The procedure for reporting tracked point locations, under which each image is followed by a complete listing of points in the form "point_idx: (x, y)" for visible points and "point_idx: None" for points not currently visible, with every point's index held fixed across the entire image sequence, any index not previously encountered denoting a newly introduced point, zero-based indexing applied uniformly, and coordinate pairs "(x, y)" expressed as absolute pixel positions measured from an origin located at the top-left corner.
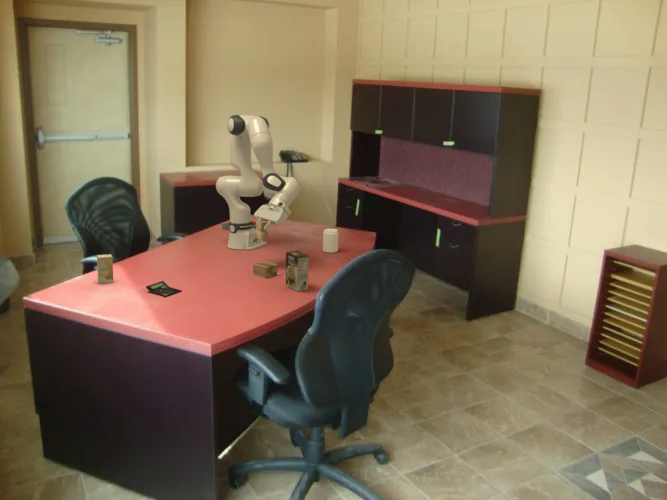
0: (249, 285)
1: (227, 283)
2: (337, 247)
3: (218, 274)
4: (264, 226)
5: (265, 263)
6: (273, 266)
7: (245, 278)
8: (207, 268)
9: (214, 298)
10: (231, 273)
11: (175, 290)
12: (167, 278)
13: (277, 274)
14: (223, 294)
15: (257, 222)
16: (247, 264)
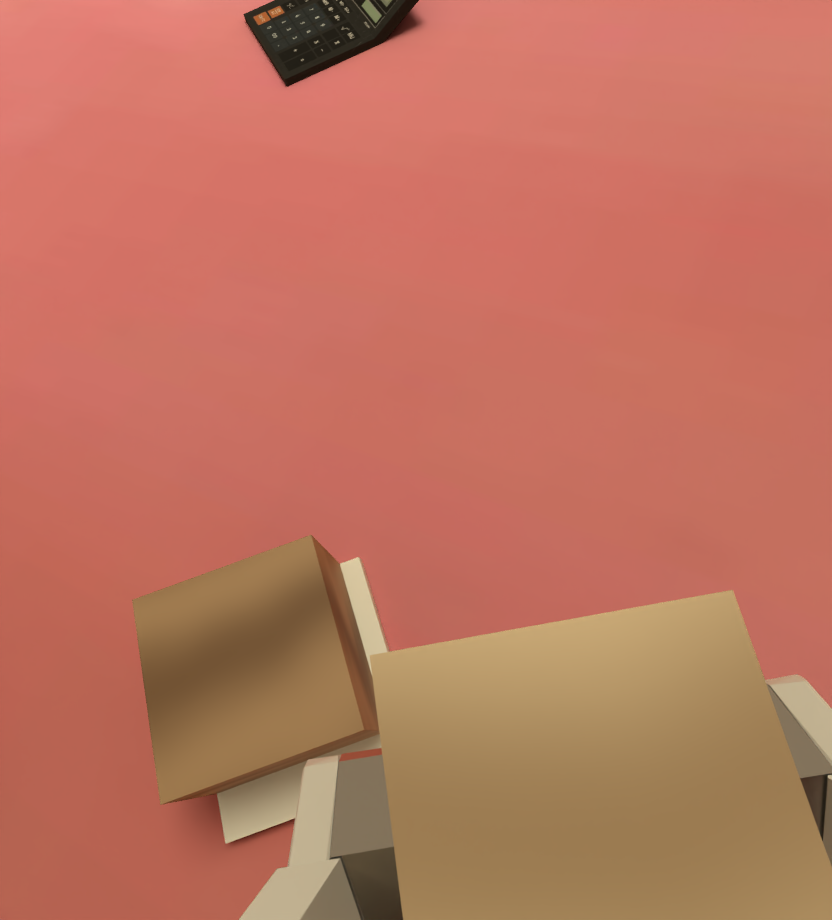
0: (153, 451)
1: (283, 330)
2: None
3: (524, 331)
4: (333, 797)
5: (273, 680)
6: (154, 730)
7: (323, 485)
8: (730, 299)
9: (79, 200)
10: (509, 428)
11: (300, 55)
12: (568, 52)
13: (221, 798)
14: (104, 254)
15: (615, 614)
16: None
